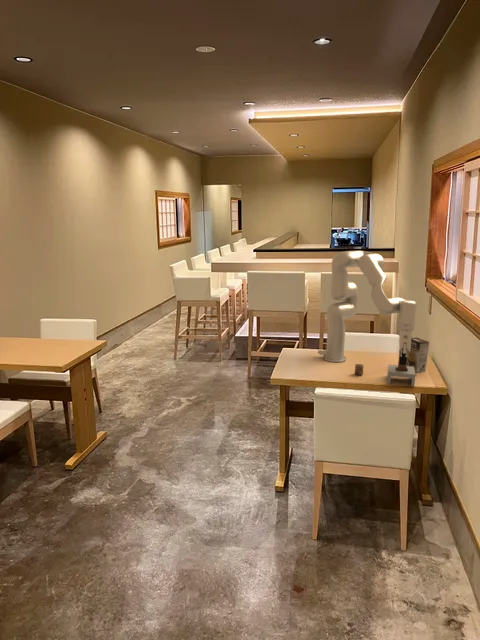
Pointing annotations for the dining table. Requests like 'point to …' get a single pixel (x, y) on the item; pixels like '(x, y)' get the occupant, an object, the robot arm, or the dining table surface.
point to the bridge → (401, 373)
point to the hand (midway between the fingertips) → (402, 362)
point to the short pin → (359, 369)
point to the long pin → (402, 367)
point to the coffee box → (418, 354)
